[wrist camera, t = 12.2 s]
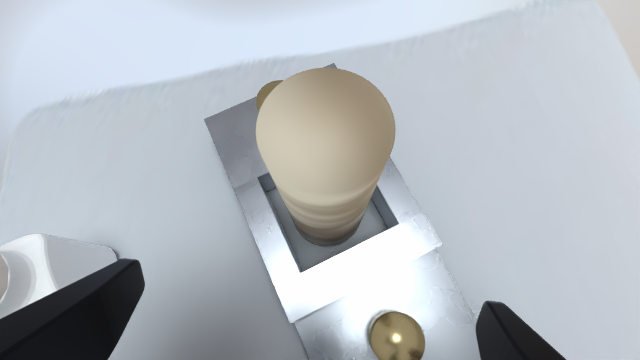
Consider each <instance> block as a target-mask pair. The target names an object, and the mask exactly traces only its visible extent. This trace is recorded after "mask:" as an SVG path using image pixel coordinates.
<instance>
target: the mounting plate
mask: <svg viewBox="0 0 640 360" xmlns="http://www.w3.org/2000/svg"><path fill="white" fill-rule="evenodd" d="M324 68H336V69H337V67H336V65H335V64H334V63H333V64H331V65H328V66H326V67H324ZM281 82H283V80H278V81H273V82H270V83H268V84H266V85H265V86H264V87H262V88H261V90H260V91H259V93H258V95H257V97H254V98H252V99H250V100H248V101H245V102H243V103H241V104H238V105H236V106H234V107H231V108H229V109H227V110H224V111H222V112H220V113H218V114H215V115H213V116H211V117H208V118H206V119H204V120H205V123H206V125H207V127H208V130H209V132H210V134H211V137H212V139H213V142H214V144H215V146H216V149H217V151H218V153H219V156H220V158H221V161H222V163H223V165H224V168H225V170H226V172H227V175H228V177H229V180H230V182H231V184H232V187H233V189H234V191H235V194H236V196H237V199H238V201H239V203H240V206H241V208H242V210H243V213H244V215H245V218H246V220H247V222H248V225H249V227H250V229H251V232H252V234H253V237H254V239H255V241H256V244H257V246H258V248H259V251H260V253H261V256H262V258H263V260H264V263H265V265H266V268H267V270H268V272H269V275H270V277H271V279H272V282H273V284H274V287H275V289H276V291H277V294H278V296H279V298H280V301H281V303H282V306H283V308H284V310H285V313H286V315H287V317H288V320H289V322H290V323H292V322H294V324H295V326H296V329H297V331H298V333H299V336H300V338H301V340H302V343H303V345H304V348H305V350H306V352H307V355H308V357H309V359H310V360H481V358H480V353H479V348H478V342H477V337H476V322H477V319H476V318H475V316H474V314H473V312H472V311H471V309H470V307H469V306H468V304H467V302H466V301H465V299H464V297H463V295H462V294H461V292H460V290H459V289H458V287H457V285H456V284H455V282H454V280H453V278H452V277H451V275H450V273H449V272H448V270H447V268H446V267H445V265H444V263H443V261H442V260H441V258H440V256H439V255H438V253H437V251H436V250H435V248H437V247H439V246H441V245H442V243H441V241H440V240H439V238H438V236H437V235H436V233H435V231H434V229H433V228H432V226H431V224H430V223H429V221H428V219H427V218H426V216H425V214H424V213H423V211H422V209H421V208H420V206H419V204H418V203H417V201H416V199H415V198H414V196H413V194H412V193H411V191H410V189H409V188H408V186H407V184H406V183H405V181H404V179H403V178H402V176H401V174H400V173H399V171H398V169H397V168H396V166H395V164H394V163H393V161H392V159H391V158H390V156H389V158H388V161H387V163H386V165H385V167H384V170H383V172H382V174H381V176H380V179H379V181H378V183H377V185H376V188H375V190H374V192H373V194H372V197H371V199H372V200H373V202H374V204H375V206H376V208H377V209H378V211H379V213H380V215H381V217H382V218H383V220H384V222H385V224H386V226H387V227H388V230H386V231H384V232H382V233H380V234H378V235H376V236H374V237H372V238H370V239H368V240H366V241H364V242H362V243H360V244H358V245H356V246H354V247H352V248H350V249H348V250H346V251H344V252H342V253H340V254H338V255H336V256H334V257H332V258H330V259H328V260H326V261H324V262H322V263H320V264H318V265H316V266H314V267H312V268H310V269H308V270H306V271H304V272H303V271H302V269H301V267H300V265H299V262H298V260H297V258H296V256H295V254H294V251H293V249H292V247H291V245H290V243H289V240H288V238H287V236H286V234H285V231H284V229H283V227H282V225H281V223H280V220H279V218H278V216H277V214H276V212H275V209H274V207H273V205H272V203H271V201H270V198H269V196H268V194H267V191H269V190H272V189H274V188H276V185H275V183H274V181H273V179H272V177H271V175H270V173H269V171H268V169H267V167H266V164H265V162H264V160H263V158H262V156H261V154H260V151H259V149H258V145H257V140H256V123H257V118H258V114H259V111H260V109H261V106H262V105H263V103H264V101H265V99H266V98H267V96H268V95H269V94H270V93H271V92H272V90H273V89H274V88H275V87H276V86H278V85H279V84H280V83H281Z"/></svg>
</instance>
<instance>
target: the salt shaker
mask: <svg viewBox="0 0 640 360" xmlns="http://www.w3.org/2000/svg"><path fill="white" fill-rule="evenodd" d="M116 261H117V258H116V255H115V253H114V252H113V251H112V249H111V248H109V247H106V246H101V245H96V244H91V243H86V242H81V241H76V240H71V239H66V238H61V237H56V236H51V235H46V234H30V235H27V236H24V237H21V238H19V239H16V240H13V241H11V242H8V243H6V244H4V245H2V246H0V319H1V318H3V317H5V316H7V315H9V314H11V313H13V312H15V311H17V310H19V309H21V308H23V307H25V306H27V305H29V304H31V303H33V302H35V301H37V300H39V299H41V298H43V297H45V296H47V295H49V294H51V293H53V292H55V291H57V290H59V289H61V288H63V287H65V286H67V285H69V284H71V283H74V282H76V281H78V280H80V279H82V278H84V277H86V276H88V275H90V274H92V273H94V272H96V271H98V270H100V269H102V268H104V267H106V266H108V265H110V264H112V263H114V262H116Z"/></svg>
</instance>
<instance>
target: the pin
mask: <svg viewBox="0 0 640 360" xmlns="http://www.w3.org/2000/svg"><path fill="white" fill-rule="evenodd" d="M256 140H257V145H258V149H259V151H260V154H261V156H262V158H263V160H264V162H265V164H266V167H267V169H268V171H269V173H270V175H271V177H272V179H273V181H274V183H275V185H276V187H277V189H278V191H279V193H280V195H281V197H282V199H283V201H284V203H285V205H286V207H287V209H288V211H289V213H290V215H291V217H292V219H293V221H294V223H295V225H296V228H297V229H298V231H299V232H300V234H301V235H302V236H303V237H304V238H305V239H306V240H308V241H309V242H311V243H313V244H316V245H319V246H335V245H339V244H341V243H343V242H345V241H347V240H348V239H349V238H350V237H351V236H352V235H353V234H354V233H355V232H356V230H357V228H358V226H359V224H360V222H361V219H362V217H363V215H364V213H365V210H366V208H367V206H368V203H369V201H370V199H371V197H372V194H373V192H374V190H375V188H376V185H377V183H378V181H379V179H380V176H381V174H382V172H383V170H384V167H385V165H386V163H387V161H388V158H389V156H390V154H391V151H392V148H393V145H394V140H395V121H394V116H393V113H392V110H391V107H390V105H389V103H388V102H387V100H386V98H385V97H384V95H383V94H382V93H381V92H380V91H379V90H378V89H377V87H376V86H374V85H373V84H372V83H371V82H369V81H368V80H366V79H365V78H363V77H361V76H359V75H357V74H355V73H352V72H349V71H346V70H342V69H336V68H317V69H310V70H306V71H303V72H300V73H297V74H295V75H293V76H291V77H289V78H287V79H286V80H284V81H283V82H281V83H280V84H279V85H278V86H276V87H275V88H274V89H273V90H272V92H271V93H270V94H269V95H268V96H267V98H266V99H265V101H264V103H263V105H262V106H261V109H260V111H259V114H258V118H257V123H256Z"/></svg>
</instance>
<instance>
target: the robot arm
mask: <svg viewBox="0 0 640 360" xmlns="http://www.w3.org/2000/svg"><path fill="white" fill-rule="evenodd" d="M144 287H145V282H144V277H143V273H142V269H141V264H140V262H139V261H138V260H135V259H126V258H124V259H120V260H118V261H116V262H114V263H112V264H110V265H108V266H106V267H104V268H102V269H100V270H98V271H96V272H94V273H92V274H90V275H88V276H86V277H84V278H82V279H80V280H78V281H76V282H74V283H71V284H69V285H67V286H65V287H63V288H61V289H59V290H57V291H55V292H53V293H51V294H49V295H47V296H45V297H43V298H41V299H39V300H37V301H35V302H33V303H31V304H29V305H27V306H25V307H23V308H21V309H19V310H17V311H15V312H13V313H11V314H9V315H7V316H5V317H3V318H1V319H0V360H108V358H109V357H110V355H111V353H112V352H113V350H114V348H115V347H116V345H117V343H118V341H119V339H120V337H121V336H122V334H123V331H124V329H125V327H126V325H127V323H128V321H129V319H130V317H131V315H132V313H133V311H134V309H135V307H136V305H137V303H138V301H139V299H140V297H141V295H142V293H143V291H144ZM476 337H477V342H478V348H479V353H480V358H481V360H566V359H565V358H564V357H563V356H562V355H561V354H560V353H558V352H557V351H556V350H555V349H554V348H553V347H552V346H551V345H550V344H548V343H547V342H546V341H545V340H544V339H543V338H542V337H541V336H540V335H539V334H537V333H536V332H535V331H534V330H533V329H532V328H531V327H530V326H529V325H527V324H526V323H525V322H524V321H523V320H522V319H521V318H520V317H519V316H517V315H516V314H515V313H514V312H513V311H512V310H511V309H510V308H509V307H508V306H506V305H505V304H504V303H501V302H495V301H486V302H484V304H483V306H482V308H481V311H480V314H479V317H478V319H477V322H476Z"/></svg>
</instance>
